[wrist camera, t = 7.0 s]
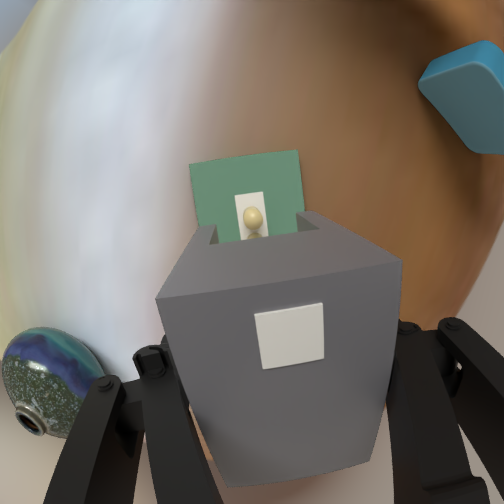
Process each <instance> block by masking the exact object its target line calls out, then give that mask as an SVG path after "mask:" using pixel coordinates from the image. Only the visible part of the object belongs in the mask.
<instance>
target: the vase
mask: <svg viewBox="0 0 504 504" xmlns="http://www.w3.org/2000/svg"><path fill="white" fill-rule="evenodd" d="M102 376H105V373H104V371H103V369H102V367H101V365H100V363H99V362H98V360H97V359H96V357H95V356H94V355H93V353H92V352H91V351H90V350H89V349H88V348H87V347H86V346H85V345H84V344H83V343H81V342H80V341H79V340H78V339H76V338H75V337H73V336H72V335H70V334H68V333H66V332H64V331H61V330H58V329H55V328H49V327H36V328H30V329H28V330H25V331H23V332H21V333H19V334H18V335H17V336H15V337H14V338H13V339H12V340H11V341H10V343H9V344H8V346H7V348H6V350H5V352H4V354H3V359H2V377H3V382H4V385H5V388H6V391H7V393H8V395H9V397H10V399H11V401H12V403H13V405H14V406H15V408H16V411H15V416H16V418H17V420H18V421H19V423H20V424H21V425H22V426H23V427H24V428H25V429H27V430H28V431H29V432H31V433H33V434H34V435H38V436H42V435H44V433H46V434H48V435H51V436H55V437H58V438H64V439H67V437H68V435H69V432H70V430H71V428H72V425H73V423H74V421H75V419H76V416H77V414H78V412H79V410H80V407H81V405H82V403H83V401H84V399H85V396H86V394H87V392H88V390H89V388H90V386H91V384H92V383H93V382H94V381H95V380H96V379H98V378H99V377H102Z"/></svg>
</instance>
